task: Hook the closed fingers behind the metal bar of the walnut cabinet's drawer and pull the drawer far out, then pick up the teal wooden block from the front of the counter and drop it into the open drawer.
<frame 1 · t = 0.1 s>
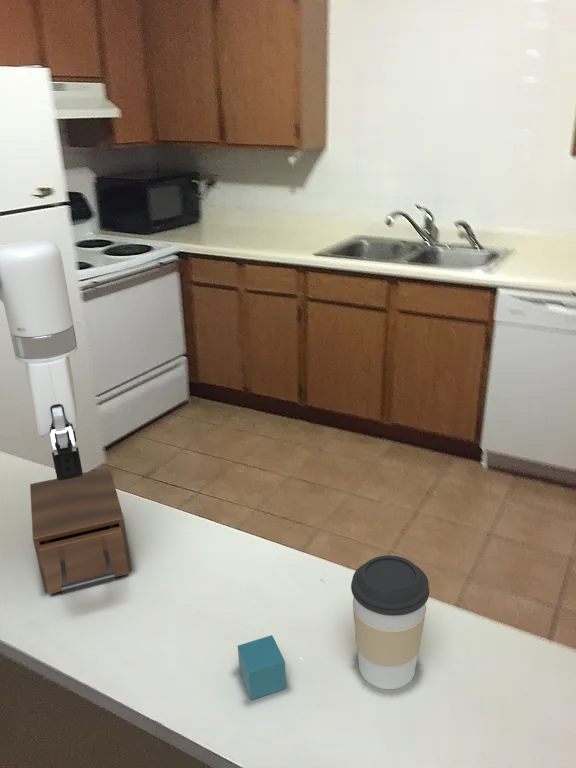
hand: (67, 459, 91), 21 cm above the countertop, tool pointing down, fingers open, 9 cm apart
coffee cup: (387, 668, 83), on the countertop
block: (262, 680, 82), on the countertop
drawer: (82, 546, 99), point 5 cm above the countertop, slide at 0.5 cm
cabinet: (84, 551, 106), on the countertop
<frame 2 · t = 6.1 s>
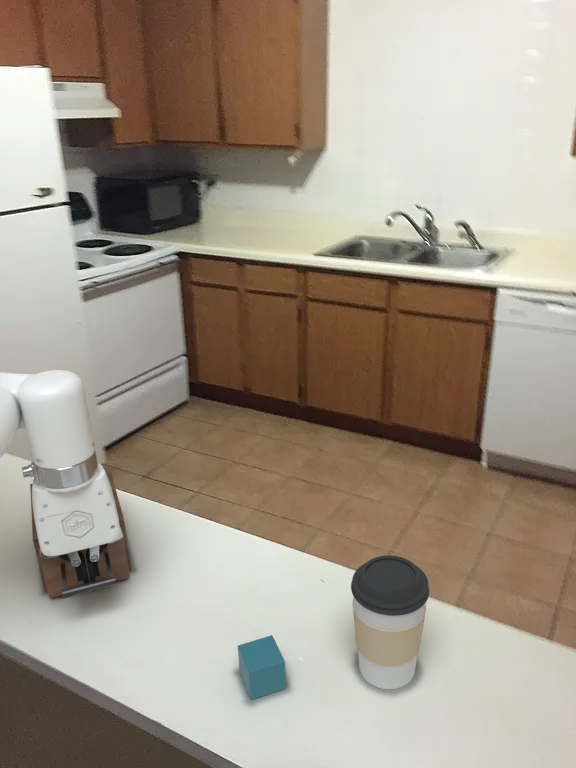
hand: (89, 581, 92), 5 cm above the countertop, tool pointing down, fingers closed
drawer: (83, 550, 99), point 5 cm above the countertop, slide at 1.4 cm, touching gripper
everything else where it was.
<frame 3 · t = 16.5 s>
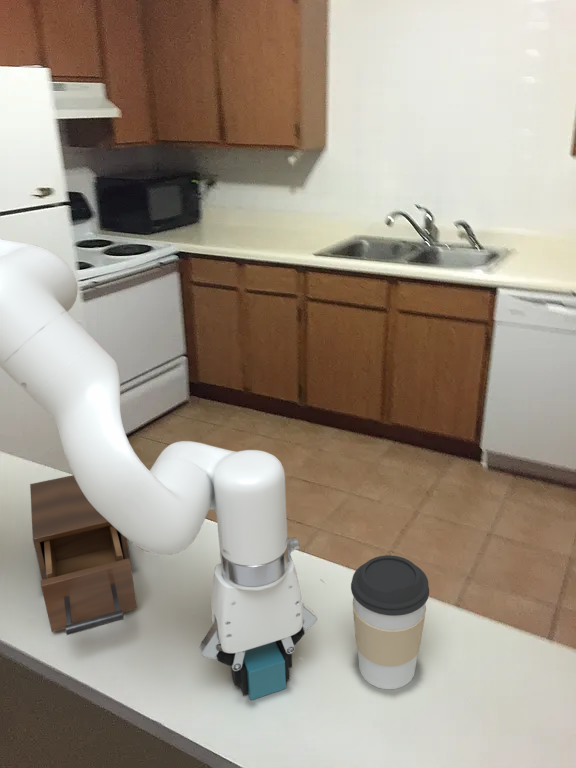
hand: (262, 677, 82), 1 cm above the countertop, tool pointing down, fingers closed on block, 4 cm apart
block: (262, 680, 82), on the countertop, touching gripper
drawer: (88, 579, 93), point 5 cm above the countertop, slide at 8.4 cm
everything else where it was.
when the fingers open (8 cm above the countertop, at t = 24.0 s): block stays where it is, resting on drawer.
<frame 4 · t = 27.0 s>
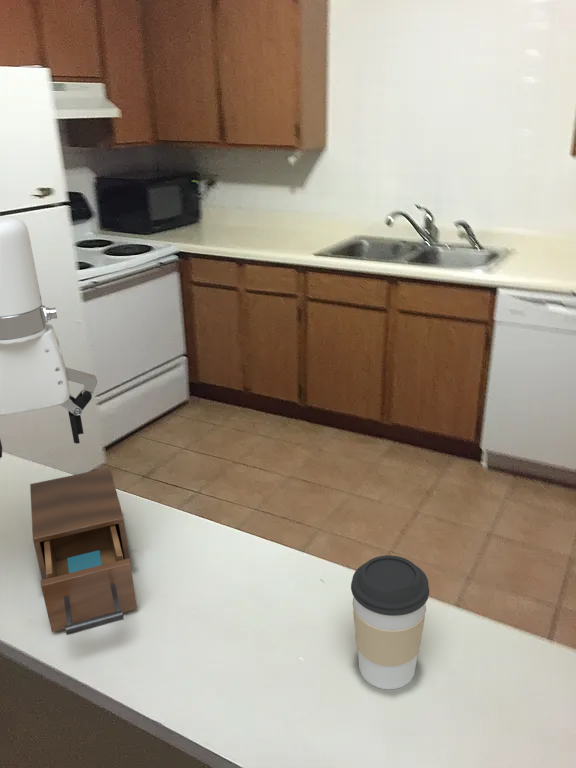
hand: (38, 446, 88), 24 cm above the countertop, tool pointing down, fingers open, 9 cm apart
block: (89, 588, 95), point 2 cm above the countertop, touching drawer
drawer: (88, 579, 93), point 5 cm above the countertop, slide at 8.4 cm, touching block
everything else where it was.
at the end: drawer slide at 8.4 cm; block inside the target area in the drawer (1.3 cm from its centre), point 2.0 cm above the cabinet's base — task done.
